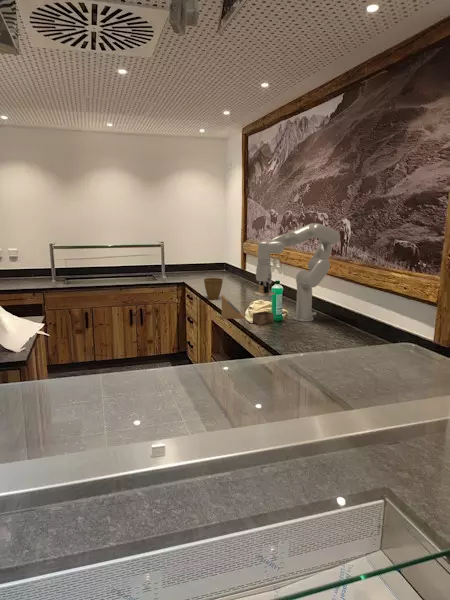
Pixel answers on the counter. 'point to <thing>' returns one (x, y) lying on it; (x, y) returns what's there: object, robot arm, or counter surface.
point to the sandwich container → (230, 310)
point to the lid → (261, 292)
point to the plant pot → (213, 287)
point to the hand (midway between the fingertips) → (264, 291)
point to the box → (263, 318)
